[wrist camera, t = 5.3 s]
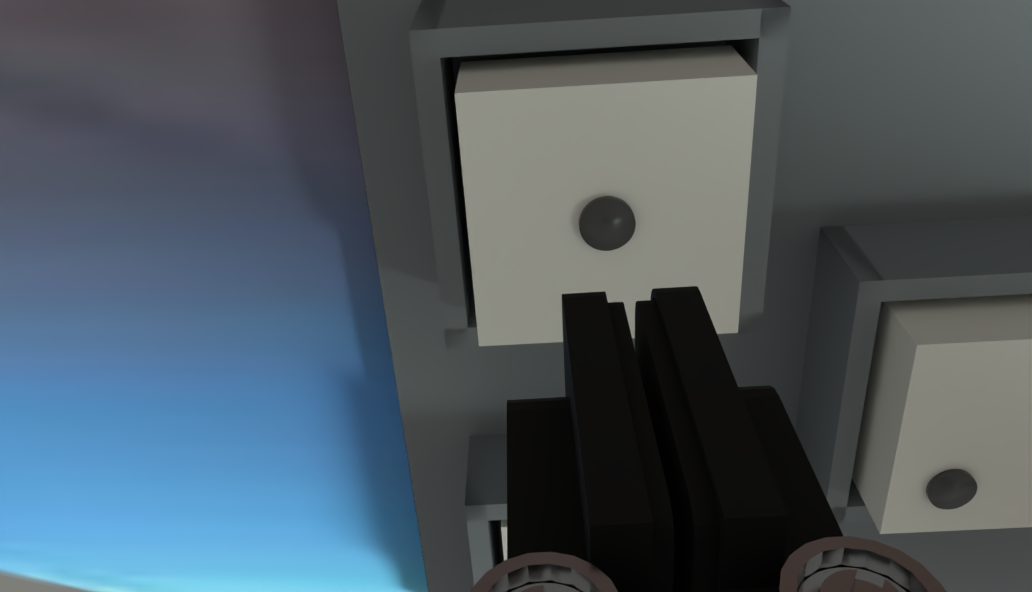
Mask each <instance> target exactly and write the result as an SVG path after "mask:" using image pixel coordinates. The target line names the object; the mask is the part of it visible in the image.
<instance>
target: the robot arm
mask: <svg viewBox="0 0 1032 592" xmlns="http://www.w3.org/2000/svg"><path fill="white" fill-rule="evenodd" d="M562 324H563V349H564V374H565V397H554V398H536V399H518V400H507V560H505V561H503V562H502V563H500V564H498V565H497V566H495V567H493V568H492V569H490V570H489V571H487V572H486V573H485V574H484V575H483V576H482V577H481V578H480V580H479V581H478V582H477V583H476V584H475V585H474V586H473V587H472V589H471V592H947V591H946V590H945V589H944V587H943V586H942V585H941V583H940V582H939V581H938V580H937V579H936V578H935V577H934V576H933V575H932V574H931V573H930V572H929V571H928V570H927V569H926V568H925V567H924V566H923V565H922V564H921V563H919V562H918V561H916V560H914V559H913V558H911V557H910V556H908V555H907V554H905V553H904V552H902V551H900V550H898V549H896V548H893V547H891V546H888V545H885V544H883V543H880V542H878V541H875V540H869V539H863V538H858V537H852V536H843V534H842V531H841V529H840V527H839V525H838V523H837V521H836V518H835V516H834V514H833V512H832V510H831V508H830V505H829V503H828V501H827V499H826V497H825V494H824V492H823V490H822V488H821V486H820V484H819V481H818V479H817V477H816V475H815V473H814V471H813V468H812V466H811V464H810V462H809V460H808V458H807V455H806V453H805V451H804V449H803V447H802V444H801V442H800V440H799V438H798V436H797V434H796V431H795V429H794V427H793V425H792V423H791V421H790V418H789V416H788V414H787V412H786V410H785V408H784V405H783V403H782V401H781V399H780V397H779V395H778V393H777V392H776V390H775V388H774V387H772V386H770V385H767V386H749V387H738V385H737V383H736V380H735V378H734V375H733V373H732V370H731V368H730V365H729V363H728V360H727V358H726V355H725V353H724V350H723V348H722V345H721V343H720V340H719V337H718V335H717V332H716V330H715V327H714V325H713V322H712V320H711V317H710V315H709V312H708V310H707V307H706V305H705V302H704V300H703V297H702V295H701V292H700V290H699V288H698V286H689V287H671V288H654V289H652V291H651V300H645V301H636V305H635V349H634V344H633V340H632V336H631V332H630V327H629V323H628V319H627V315H626V311H625V306H624V303H623V302H611V303H608V301H607V296H606V292H605V291H603V292H586V293H569V294H562Z"/></svg>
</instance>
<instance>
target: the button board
mask: <svg viewBox="0 0 1032 592" xmlns="http://www.w3.org/2000/svg"><path fill="white" fill-rule="evenodd" d="M336 1H337V8H338V14H339V20H340V27H341V33H342V40H343V46H344V53H345V59H346V65H347V72H348V78H349V85H350V91H351V97H352V104H353V110H354V117H355V123H356V130H357V136H358V142H359V149H360V155H361V162H362V168H363V174H364V181H365V187H366V194H367V200H368V206H369V213H370V219H371V226H372V232H373V239H374V245H375V251H376V258H377V264H378V271H379V277H380V283H381V290H382V296H383V303H384V309H385V315H386V322H387V328H388V335H389V341H390V348H391V354H392V360H393V367H394V373H395V380H396V386H397V392H398V399H399V405H400V412H401V418H402V425H403V431H404V437H405V444H406V450H407V457H408V463H409V469H410V476H411V482H412V489H413V495H414V501H415V508H416V514H417V521H418V527H419V534H420V540H421V546H422V553H423V559H424V566H425V572H426V578H427V585H428V591H429V592H471V589H472V587H473V586H474V585H475V584H476V583H477V582H478V581H479V580H480V578H481V577H482V576H483V575H484V574H485V573H486V572H487V571H489V570H490V569H492V568H493V567H495V566H497V565H498V564H500V563H502V562H503V561H504V555H503V544H502V533H501V520H507V400H518V399H536V398H554V397H565V374H564V349H563V342H553V343H534V344H515V345H496V346H479V342H478V331H477V321H476V311H475V300H474V290H473V280H472V269H471V259H470V249H469V238H468V228H467V218H466V207H465V197H464V186H463V176H462V166H461V155H460V145H459V135H458V124H457V114H456V104H455V88H456V83H457V78H458V73H459V68H460V63H461V62H468V61H484V60H501V59H517V58H533V57H549V56H566V55H582V54H598V53H615V52H631V51H647V50H664V49H680V48H696V47H713V46H729V45H731V46H732V47H733V48H734V49H735V50H736V51H737V53H738V54H739V55H740V56H741V57H742V58H743V59H744V60H745V62H746V63H747V64H748V65H749V66H750V67H751V68H752V69H753V70H754V72H755V73H756V74H757V88H756V101H755V114H754V128H753V141H752V154H751V167H750V180H749V193H748V206H747V219H746V232H745V246H744V259H743V272H742V285H741V298H740V311H739V324H738V333H724V334H717V335H718V337H719V340H720V343H721V345H722V348H723V350H724V353H725V355H726V358H727V360H728V363H729V365H730V368H731V370H732V373H733V375H734V378H735V380H736V383H737V385H738V387H749V386H767V385H770V386H772V387H774V388H775V390H776V392H777V393H778V395H779V397H780V399H781V401H782V403H783V405H784V408H785V410H786V412H787V414H788V416H789V418H790V421H791V423H792V425H793V427H794V429H795V431H796V434H797V436H798V438H799V440H800V442H801V444H802V447H803V449H804V451H805V453H806V455H807V458H808V460H809V462H810V464H811V466H812V468H813V471H814V473H815V475H816V477H817V479H818V481H819V484H820V486H821V488H822V490H823V492H824V494H825V497H826V499H827V501H828V503H829V505H830V508H831V510H832V512H833V514H834V516H835V518H836V521H837V523H838V525H839V527H840V529H841V531H842V534H843V536H852V537H858V538H863V539H869V540H875V541H878V542H880V543H883V544H885V545H888V546H891V547H893V548H896V549H898V550H900V551H902V552H904V553H905V554H907V555H908V556H910V557H911V558H913V559H914V560H916V561H918V562H919V563H921V564H922V565H923V566H924V567H925V568H926V569H927V570H928V571H929V572H930V573H931V574H932V575H933V576H934V577H935V578H936V579H937V580H938V581H939V582H940V583H941V585H942V586H943V587H944V589H945V590H946V591H947V592H1032V527H1023V528H1002V529H980V530H958V531H936V532H915V533H893V534H880V533H879V531H878V529H877V527H876V525H875V523H874V521H873V519H872V517H871V515H870V513H869V511H868V509H867V507H866V505H865V503H864V501H863V499H862V497H861V495H860V493H859V491H858V489H857V487H856V485H855V483H854V481H853V479H852V473H853V467H854V461H855V455H856V449H857V443H858V437H859V431H860V425H861V419H862V413H863V407H864V401H865V395H866V390H867V384H868V378H869V372H870V366H871V360H872V354H873V348H874V342H875V336H876V330H877V324H878V318H879V312H880V306H881V302H887V301H905V300H924V299H943V298H962V297H981V296H999V295H1018V294H1032V0H336ZM632 340H633V344H634V349H635V338H632Z"/></svg>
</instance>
